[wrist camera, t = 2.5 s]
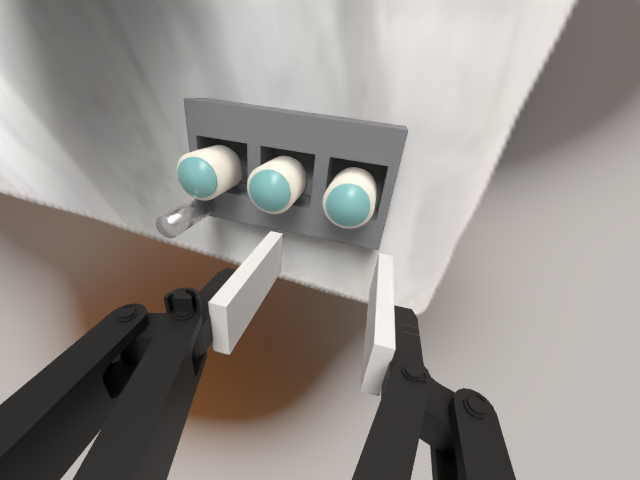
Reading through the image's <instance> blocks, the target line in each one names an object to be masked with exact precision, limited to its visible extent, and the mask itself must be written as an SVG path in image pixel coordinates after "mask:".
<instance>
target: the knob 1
mask: <svg viewBox="0 0 640 480" xmlns="http://www.w3.org/2000/svg"><path fill="white" fill-rule="evenodd" d="M242 174H243V169H242V164H241V161H240V159H239V157H238V156H237V154H236V153H235V152H234V151H233V150H231V149H230V148H228V147H226V146H223V145H214V146H211V147H207V148H204V149H200V150H196V151H193V152H189V153H186V154H184V155H183V156H182V157H181V158H180V159H179V161H178V164H177V176H178V180H179V182H180V184H181V186H182V187H183V189H184V190H185V191H186V192H187V193H188V194H189V195H191V196H192V197H194V198H196V199H199V200H204V201H206V200H211V199H213V198H215V197H217V196H218V195H220V194H222V193H223V192H225V191H227V190H229V189H230V188H232V187H234V186H235V185H237V184H238V183H239V182H240V180H241V178H242Z"/></svg>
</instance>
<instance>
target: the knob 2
mask: <svg viewBox="0 0 640 480" xmlns="http://www.w3.org/2000/svg"><path fill="white" fill-rule="evenodd" d="M376 193H377V186H376V182H375V180H374V178H373V176H372V175H371V174H370V173H369V172H367V171H366V170H364V169H362V168H358V167H350V168H346V169H344V170H342V171H340V172H339V173H338V174H337V175H336V176H335V178H334V179H333V181H332V182H331V184H330V185H329V187H328V188H327V190H326V192H325V194H324V196H323V210H324V212H325V214H326V216H327V218H328V219H329V220H330V221H331V222H332V223H333V224H335V225H337V226H339V227H342V228H347V229H352V228H357V227H360V226H362V225H364V224H365V223H367V222H368V221H369V219H370V218H371V217H372V215H373V213H374V209H375V201H376Z"/></svg>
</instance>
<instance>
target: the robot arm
mask: <svg viewBox="0 0 640 480" xmlns="http://www.w3.org/2000/svg"><path fill="white" fill-rule="evenodd" d="M282 238H283V234H282V233H277V232H272V231H270V232H269V234H268V235H267V236H266V237H265V238H264V239H263V240H262V242H261V243H260V244H259V245H258V246H257V247H256V248H255V250H254V251H253V252H252V253H251V254H250V255H249V256H248V258H247V259H246V260H245V261H244V262H243V263H242V264H241V266H240V267H239V268H238V269H237V270H234V269H229V268H226V269H224V270H222V271H220V272H218V273H217V274H216V275H215V276H214V277H213V278H212V280H210V281H209V283H208V284H207V285H206V286H205V287H204V288H203V289H202V290H201V291H200V292H198V291H196V290H195V289H192V288H180V289H176V290H174V291H172V292H170V293H168V294H167V295H166V296H165V297H164V301H165V306H166V311H167V313H148V312H147V309H146V308H145V306H143V305H141V304H128V305H124V306H122V307H119V308H118V309H116V310H114V311H113V312H111V313H110V314H109V315H108V316H106V317H105V318H104V319H103V320H102V321H100V322H99V323H98V324H97V325H96V326H94V327H93V328H92V329H91V330H90V331H88V332H87V333H86V334H85V335H84V336H82V337H81V338H80V339H79V340H78V341H76V342H75V343H74V344H73V345H72V346H70V348H68V349H67V350H66V351H64V352H63V353H62V354H61V355H60V356H58V357H57V358H56V359H55V360H54V361H53V362H51V363H50V364H49V365H48V366H46V367H45V368H44V369H43V370H42V371H40V372H39V373H38V374H37V375H36V376H35V377H33V378H32V379H31V380H30V381H28V382H27V383H26V384H25V385H24V386H22V387H21V388H20V389H19V390H18V391H17V392H15V393H14V394H13V395H12V396H10V397H9V398H8V399H7V400H6V401H4V402H3V403H2V404H1V405H0V480H60V479H61V478H62V477H63V475H64V474H65V473H66V472H67V471H68V469H69V468H70V467H71V466H72V464H73V463H74V462H75V461H76V459H77V458H78V457H79V456H80V455H81V453H82V452H83V451H84V450H85V448H86V447H87V446H88V445H89V443H90V442H91V441H92V439H94V437H95V436H96V435H97V434H98V432H99V431H100V430H101V431H100V433H99V434H98V436H97V438H96V440H95V441H94V443H93V445H92V447H91V448H90V450H89V452H88V454H87V456H86V457H85V459H84V461H83V462H82V464H81V466H80V468H79V469H78V471H77V473H76V475H75V477H74V478H73V480H167V477H168V474H169V471H170V468H171V464H172V461H173V458H174V455H175V453H176V450H177V446H178V443H179V440H180V437H181V434H182V431H183V428H184V425H185V422H186V419H187V416H188V413H189V410H190V407H191V404H192V401H193V398H194V395H195V392H196V389H197V386H198V382H199V380H200V377H201V374H202V371H203V368H204V365H205V362H206V359H207V348H208V347H209V346H210V344H211V343H212V342H213V350H214V351H217V352H221V353H225V354H228V355H230V353H231V351H232V350H233V348H234V346H235V345H236V343H237V342H238V340H239V339H240V337H241V335H242V333H243V332H244V330H245V329H246V327H247V326H248V324H249V322H250V320H251V319H252V317H253V316H254V314H255V312H256V311H257V309H258V308H259V306H260V304H261V303H262V301H263V299H264V298H265V296H266V295H267V293H268V291H269V290H270V288H271V286H272V285H273V283H274V282H275V280H276V278H277V277H278V275H279V273H280V272H281V257H282ZM360 389H361V390H360V391H363V392H367V393H370V394H374V395H378V396H379V395H380V392H381V389H382V392H381V402H380V405H379V407H378V410H377V413H376V415H375V418H374V421H373V423H372V426H371V429H370V431H369V434H368V437H367V440H366V443H365V445H364V448H363V451H362V453H361V456H360V459H359V462H358V464H357V467H356V470H355V472H354V475H353V478H352V480H410V479H411V475H412V470H413V465H414V460H415V456H416V451H417V446H418V441H419V438H420V439H421V440H423V441H424V442H426V443H427V444H429V445H430V449H431V462H432V475H433V480H516V478H515V475H514V472H513V468H512V465H511V462H510V458H509V455H508V451H507V448H506V444H505V441H504V438H503V434H502V431H501V427H500V424H499V421H498V417H497V414H496V412H495V410H494V408H493V406H492V405H491V404H490V402H489V401H488V400H487V399H486V398H485V397H483V396H482V395H481V394H480V393H478V392H476V391H473V390H471V389H465V388H463V389H460V390H457V392H456V393H455V392H453V391H451V390H450V389H447V388H446V387H444V386H442V385H441V384H439V383H438V382H436V381H435V380H434V379H433V378H431V376H430V374H429V372H428V370H427V369H426V368H425V366H424V364H423V357H422V350H421V343H420V336H419V329H418V319H417V317H416V315H415V314H414V312H413V311H412V309H408V308H403V307H399V306H395V305H394V282H393V256H390V255H385V254H380V253H379V256H378V260H377V264H376V268H375V272H374V276H373V280H372V284H371V288H370V293H369V303H368V314H367V325H366V335H365V346H364V357H363V367H362V378H361V388H360Z"/></svg>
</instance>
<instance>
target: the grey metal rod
mask: <svg viewBox="0 0 640 480" xmlns="http://www.w3.org/2000/svg"><path fill="white" fill-rule="evenodd" d="M214 210H215V202H214V201H213V199H211V200H206V201H204V200H199V199H196V198H195V199H193V200H192V201H190V202H188V203H186V204H184V205H182V206H180V207H178V208H176V209H175V210H173V211H171V212H169V213H167V214H165V215H163V216H161V217H159V218H158V219H157V221H156V225H157V228H158V230H159V232H160V233H161V234H162V235H163V236H165V237H167V238H174V237H176V236H178V235H179V234H181V233H182V232H184V231H185V230H187V229H188V228H190V227H191V226H193V225H194V224H196V223H197V222H199V221H200V220H202V219H203V218H205V217H206V216H208V215H209V214H211V213H212V212H214Z"/></svg>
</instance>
